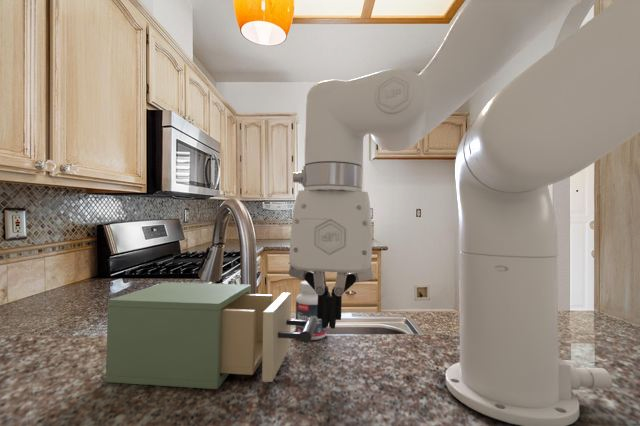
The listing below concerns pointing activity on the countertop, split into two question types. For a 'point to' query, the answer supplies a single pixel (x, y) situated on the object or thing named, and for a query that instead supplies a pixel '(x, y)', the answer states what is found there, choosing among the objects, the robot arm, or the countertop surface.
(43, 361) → the countertop surface
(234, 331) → the drawer
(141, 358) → the cabinet
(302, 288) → the pill bottle
